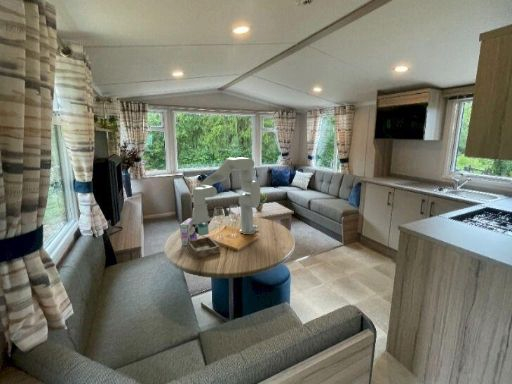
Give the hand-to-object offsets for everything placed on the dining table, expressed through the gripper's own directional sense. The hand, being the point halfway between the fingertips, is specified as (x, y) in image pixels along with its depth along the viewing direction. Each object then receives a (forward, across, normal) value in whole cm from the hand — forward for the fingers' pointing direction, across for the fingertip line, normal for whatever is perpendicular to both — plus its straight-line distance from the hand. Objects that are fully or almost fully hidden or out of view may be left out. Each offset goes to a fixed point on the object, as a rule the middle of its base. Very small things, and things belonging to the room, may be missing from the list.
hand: (201, 231), depth 170 cm
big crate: (+14, 0, 0) cm, 14 cm away
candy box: (+14, +4, -19) cm, 24 cm away
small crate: (+1, 0, 0) cm, 1 cm away
